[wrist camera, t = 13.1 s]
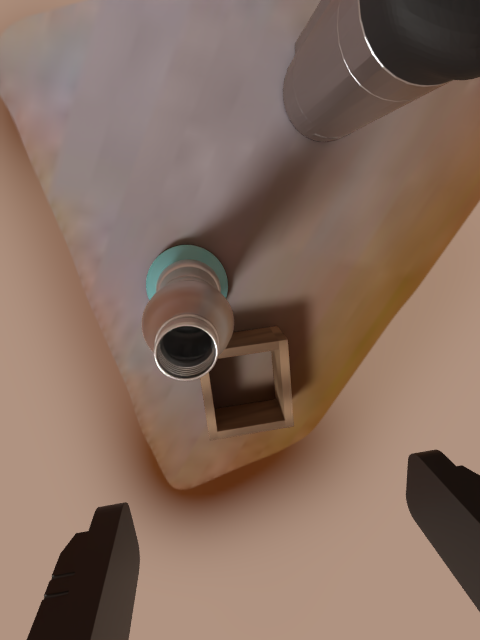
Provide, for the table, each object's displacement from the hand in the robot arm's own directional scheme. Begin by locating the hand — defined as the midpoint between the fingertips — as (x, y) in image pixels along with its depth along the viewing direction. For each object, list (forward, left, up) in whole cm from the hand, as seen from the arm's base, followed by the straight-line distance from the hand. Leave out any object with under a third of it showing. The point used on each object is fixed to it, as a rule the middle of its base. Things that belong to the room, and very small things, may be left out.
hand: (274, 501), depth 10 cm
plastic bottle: (0, -3, -31) cm, 31 cm away
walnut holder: (+12, +2, -32) cm, 34 cm away
